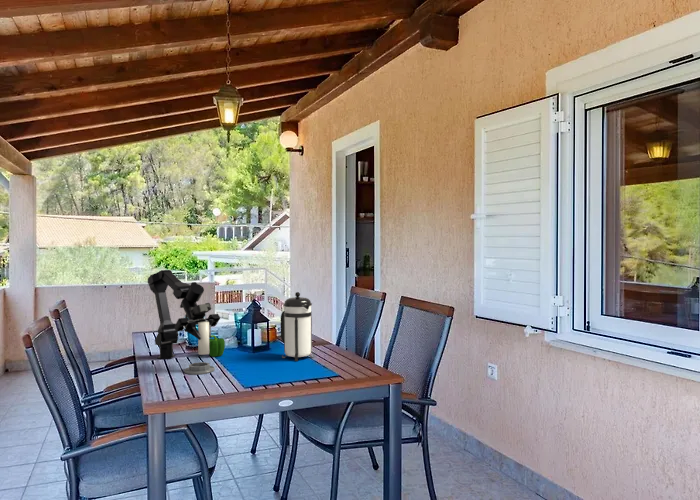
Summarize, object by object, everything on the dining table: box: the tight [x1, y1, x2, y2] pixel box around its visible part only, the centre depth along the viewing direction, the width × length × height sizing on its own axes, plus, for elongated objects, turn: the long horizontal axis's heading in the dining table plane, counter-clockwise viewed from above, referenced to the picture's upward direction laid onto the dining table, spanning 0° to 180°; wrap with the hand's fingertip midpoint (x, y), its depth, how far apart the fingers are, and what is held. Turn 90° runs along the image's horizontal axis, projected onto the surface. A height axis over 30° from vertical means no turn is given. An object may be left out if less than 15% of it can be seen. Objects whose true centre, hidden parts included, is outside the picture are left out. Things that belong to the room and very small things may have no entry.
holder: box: [184, 361, 216, 376], centre depth 219 cm, size 12×12×3 cm
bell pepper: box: [208, 334, 226, 358], centre depth 247 cm, size 8×8×10 cm
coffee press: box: [280, 291, 316, 362], centre depth 242 cm, size 17×16×30 cm
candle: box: [197, 322, 210, 356], centre depth 220 cm, size 4×4×13 cm
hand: (205, 338), depth 219 cm, fingers closed on candle, 4 cm apart
